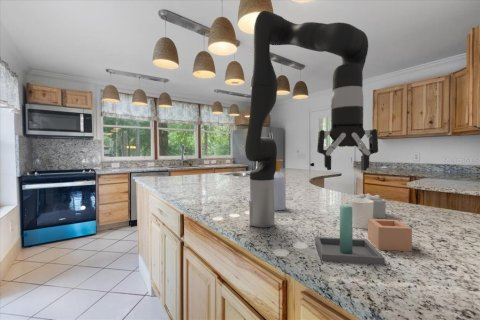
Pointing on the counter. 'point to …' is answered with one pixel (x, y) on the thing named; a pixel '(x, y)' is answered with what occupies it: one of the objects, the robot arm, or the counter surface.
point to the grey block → (375, 204)
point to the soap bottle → (279, 189)
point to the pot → (390, 234)
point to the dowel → (346, 229)
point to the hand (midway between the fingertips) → (346, 170)
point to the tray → (360, 254)
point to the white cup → (361, 212)
